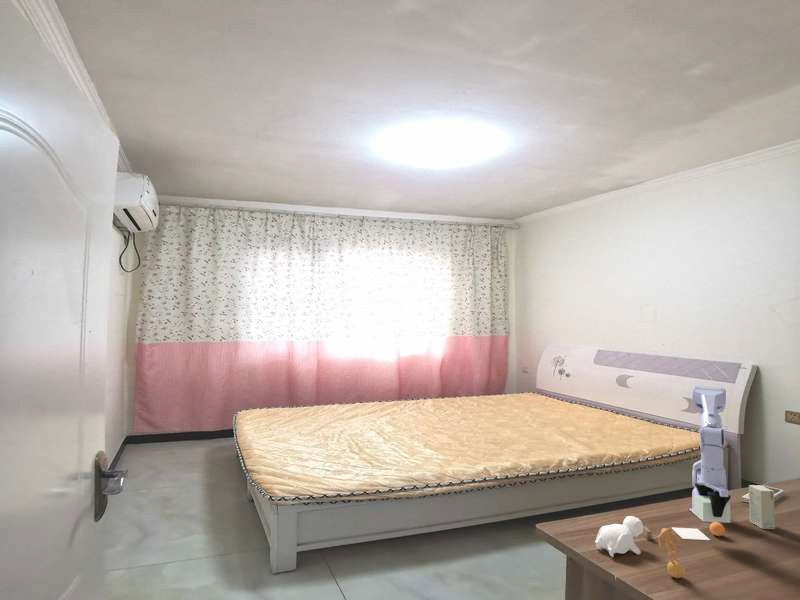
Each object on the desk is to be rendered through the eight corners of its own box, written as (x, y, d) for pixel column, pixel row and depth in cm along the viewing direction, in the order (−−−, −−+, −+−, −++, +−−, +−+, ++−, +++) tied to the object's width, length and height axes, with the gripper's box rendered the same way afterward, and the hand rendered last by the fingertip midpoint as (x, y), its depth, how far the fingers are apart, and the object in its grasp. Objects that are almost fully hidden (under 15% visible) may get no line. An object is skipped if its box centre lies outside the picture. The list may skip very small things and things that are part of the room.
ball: (707, 532, 159) (707, 519, 159) (720, 533, 158) (720, 520, 158) (713, 538, 155) (713, 524, 155) (727, 538, 154) (727, 525, 154)
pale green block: (693, 513, 155) (693, 495, 156) (719, 514, 155) (719, 496, 155) (703, 521, 150) (703, 502, 150) (730, 522, 149) (730, 503, 149)
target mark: (671, 527, 162) (671, 527, 162) (697, 529, 161) (697, 528, 161) (682, 539, 154) (682, 538, 154) (710, 540, 153) (710, 539, 153)
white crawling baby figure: (619, 570, 140) (655, 542, 146) (611, 543, 139) (647, 516, 145) (596, 556, 148) (631, 530, 154) (588, 531, 147) (624, 505, 153)
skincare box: (775, 529, 161) (775, 491, 162) (761, 529, 161) (761, 491, 162) (761, 521, 168) (761, 484, 168) (748, 521, 168) (748, 484, 168)
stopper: (632, 523, 165) (632, 516, 165) (636, 523, 164) (636, 516, 165) (647, 539, 153) (647, 531, 153) (651, 540, 153) (651, 532, 153)
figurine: (672, 584, 127) (672, 536, 128) (651, 573, 133) (651, 527, 133) (693, 577, 131) (693, 530, 131) (672, 566, 136) (672, 522, 137)
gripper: (686, 459, 160) (686, 502, 160) (710, 474, 146) (710, 521, 145) (710, 460, 159) (710, 503, 159) (736, 475, 145) (736, 522, 145)
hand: (712, 512), depth 152 cm, fingers closed on pale green block, 6 cm apart
